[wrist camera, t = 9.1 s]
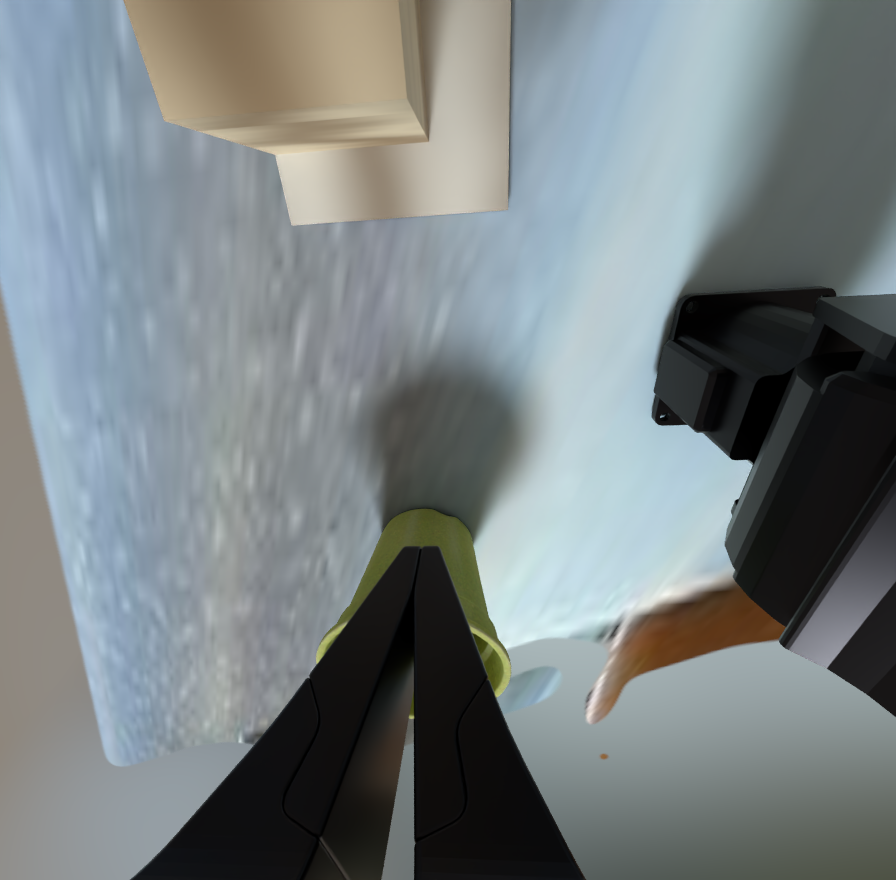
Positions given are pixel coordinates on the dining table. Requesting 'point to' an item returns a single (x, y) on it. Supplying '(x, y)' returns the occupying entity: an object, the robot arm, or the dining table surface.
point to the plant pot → (463, 569)
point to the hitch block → (345, 96)
